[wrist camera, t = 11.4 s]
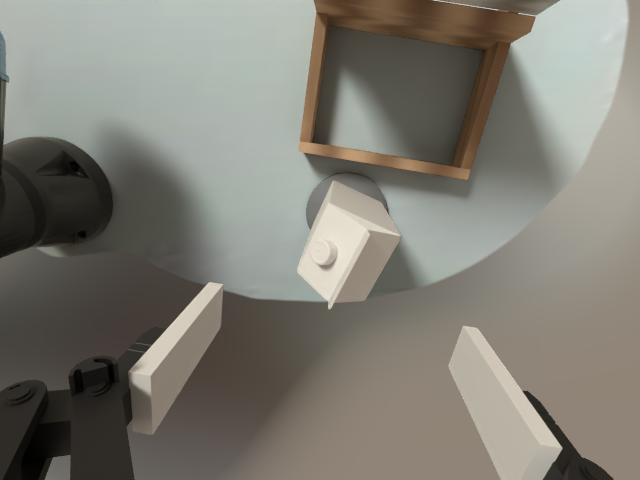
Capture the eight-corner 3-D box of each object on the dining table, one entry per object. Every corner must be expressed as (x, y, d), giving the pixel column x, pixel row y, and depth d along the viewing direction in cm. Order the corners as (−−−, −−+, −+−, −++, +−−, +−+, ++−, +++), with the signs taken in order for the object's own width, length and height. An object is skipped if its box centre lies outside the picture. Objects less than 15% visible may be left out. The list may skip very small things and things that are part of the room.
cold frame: (302, 150, 40) (261, 163, 20) (323, -9, 34) (295, -213, 14) (457, 176, 39) (573, 216, 19) (504, 20, 34) (736, -148, 14)
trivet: (301, 243, 44) (301, 244, 43) (313, 166, 40) (312, 166, 40) (377, 256, 44) (377, 258, 43) (395, 180, 40) (395, 180, 39)
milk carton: (381, 201, 40) (412, 253, 23) (357, 247, 43) (368, 326, 25) (333, 179, 40) (325, 213, 22) (311, 226, 42) (288, 291, 24)
